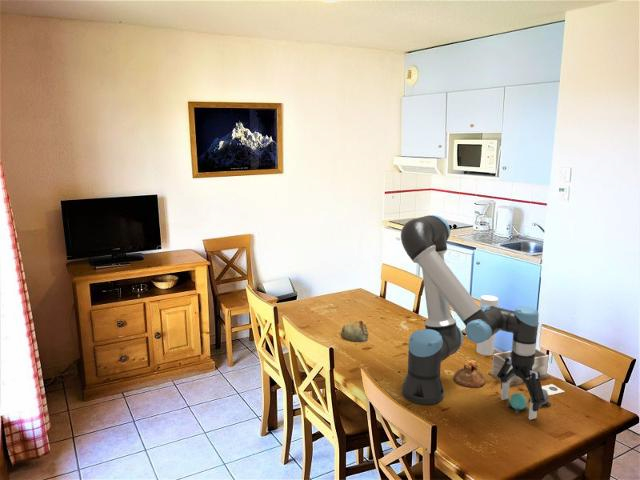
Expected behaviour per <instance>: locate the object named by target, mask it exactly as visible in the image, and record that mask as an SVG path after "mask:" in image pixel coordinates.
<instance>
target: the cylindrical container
mask: <svg viewBox="0 0 640 480" xmlns="http://www.w3.org/2000/svg"><path fill="white" fill-rule="evenodd" d="M483 305H489V306H495V307H499V298H498V297H497V296H495V295H489V294H486V295H485V294H484V295H481V296H480V303H479V307H480V308H481V307H482V306H483ZM495 340H496V333H495V334H494V335H492V336H491V337H490V338H489V339H488V340H486V341H484V342H482V343H476V352H477V353H478V354H479V355H482V356H493V354H495V353H494V352H495Z"/></svg>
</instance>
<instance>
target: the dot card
mask: <svg viewBox="0 0 640 480" xmlns="http://www.w3.org/2000/svg"><path fill="white" fill-rule="evenodd" d="M541 387H542V389H544V390H545V391H546V392H547V393H548V395H549V396H553V395H558V394H561V393H565V390H563V389H561V388H560V387H558V386H557V385H555V384H553V383H550V384H547V385H541Z"/></svg>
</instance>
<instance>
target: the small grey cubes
mask: <svg viewBox="0 0 640 480" xmlns="http://www.w3.org/2000/svg"><path fill="white" fill-rule="evenodd" d="M530 401H532V399H531V397H529V398H528V402H529V403H530ZM545 404H546V406H548V407H551V405H552V402H550V401H547V403H545ZM505 406H506V407H507V408H511V407H512V406H511V404H510V402H508V403H507V402H506V405H505ZM542 407H543V404H539V409H542ZM529 408H530V407H528V406H525V408H523V409H524V411H525V412H529ZM514 413H515V414H517V415H518V414H520V410H518V409H514Z"/></svg>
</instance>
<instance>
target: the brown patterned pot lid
mask: <svg viewBox="0 0 640 480" xmlns="http://www.w3.org/2000/svg"><path fill="white" fill-rule="evenodd" d="M485 378H486V377H484V375H483V374H482V373H481V372H480V371H478V364H477V363H476V362H472V361H466V362H464V364H463V368H460V369H458V370H457V371H456V372H455V373H454V375H453V381H454V382H455V383H456V384H457V385H460V386H462V387H466V388H469V389H471V388H473V389H474V388H475V389H478V388H480V387H483V386H484V385H485V382H486V379H485Z"/></svg>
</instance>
